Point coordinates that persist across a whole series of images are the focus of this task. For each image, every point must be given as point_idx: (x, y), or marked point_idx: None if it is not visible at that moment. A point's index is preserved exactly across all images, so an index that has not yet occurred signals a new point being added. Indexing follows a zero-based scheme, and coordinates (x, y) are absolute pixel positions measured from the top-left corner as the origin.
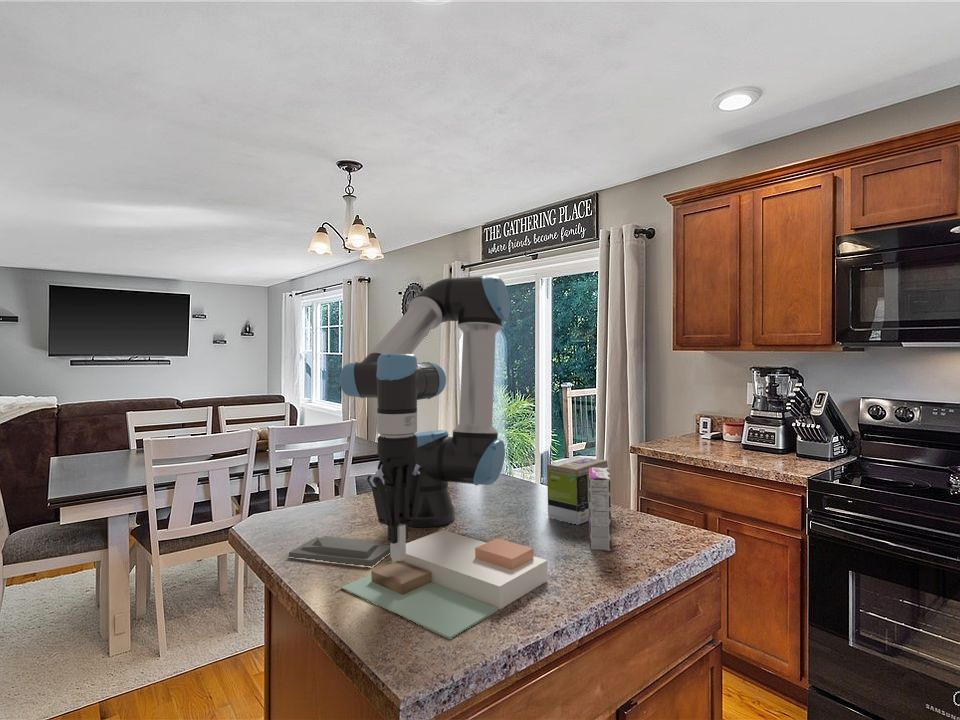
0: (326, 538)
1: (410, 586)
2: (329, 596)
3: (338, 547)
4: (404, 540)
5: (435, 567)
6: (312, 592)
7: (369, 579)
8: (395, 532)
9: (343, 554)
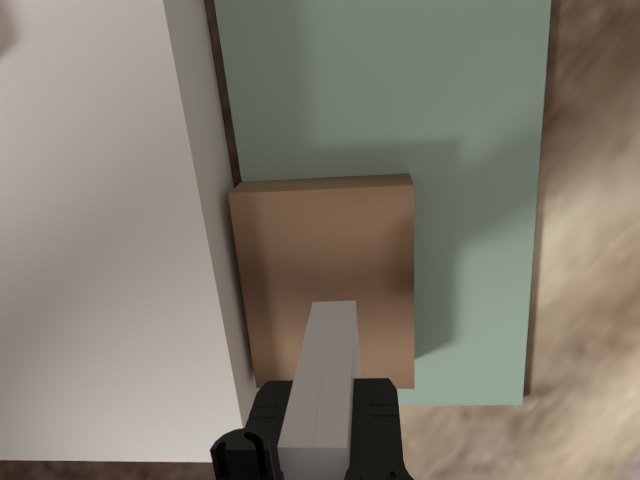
0: None
1: (362, 180)
2: (590, 381)
3: None
4: (308, 364)
5: (203, 178)
6: (604, 444)
7: None
8: (371, 433)
9: None
